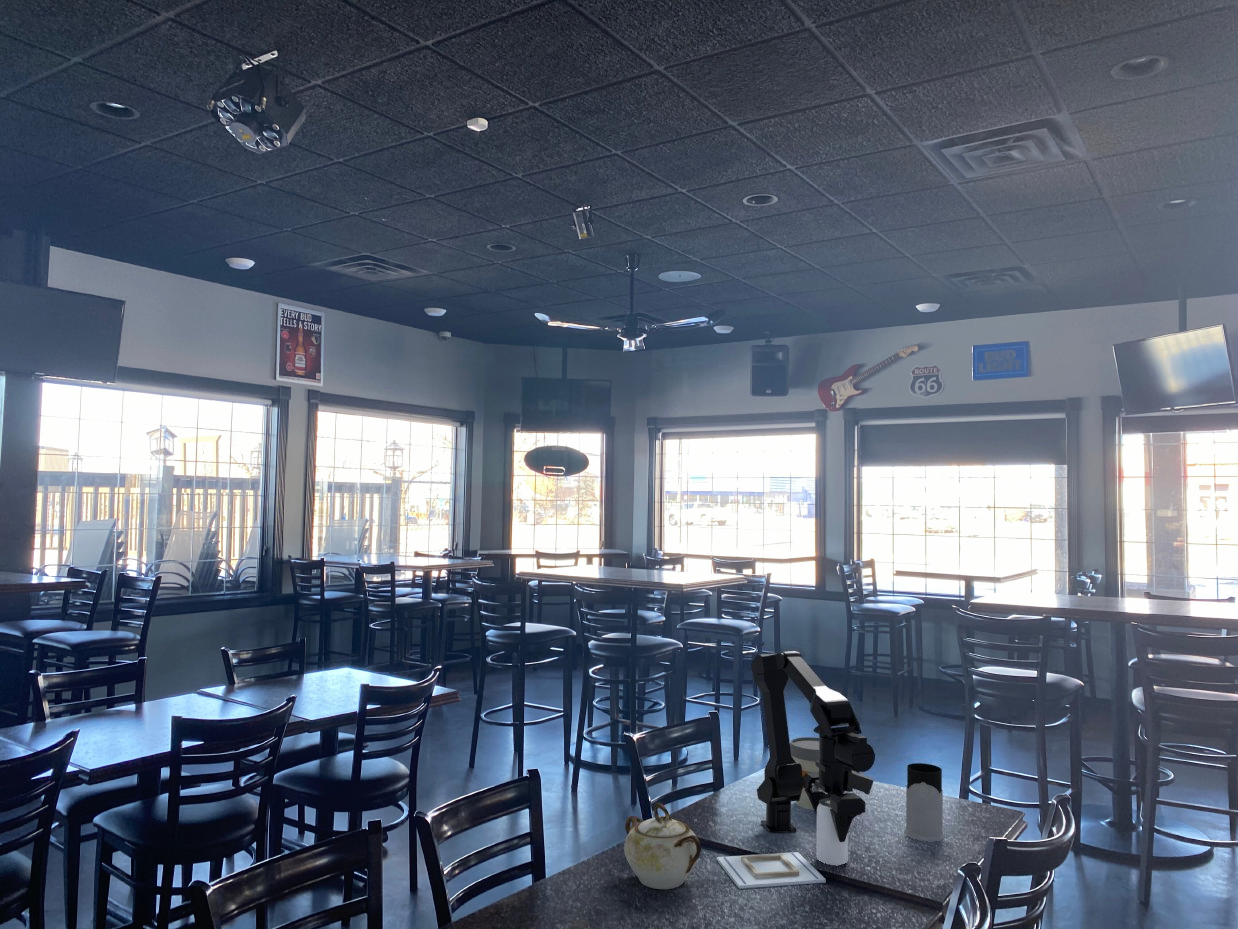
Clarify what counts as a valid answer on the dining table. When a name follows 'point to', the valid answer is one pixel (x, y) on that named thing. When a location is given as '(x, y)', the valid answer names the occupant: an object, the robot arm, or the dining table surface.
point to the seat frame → (781, 857)
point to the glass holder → (924, 802)
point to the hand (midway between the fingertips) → (832, 833)
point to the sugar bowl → (661, 850)
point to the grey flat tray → (748, 880)
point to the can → (829, 837)
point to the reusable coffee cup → (805, 761)
